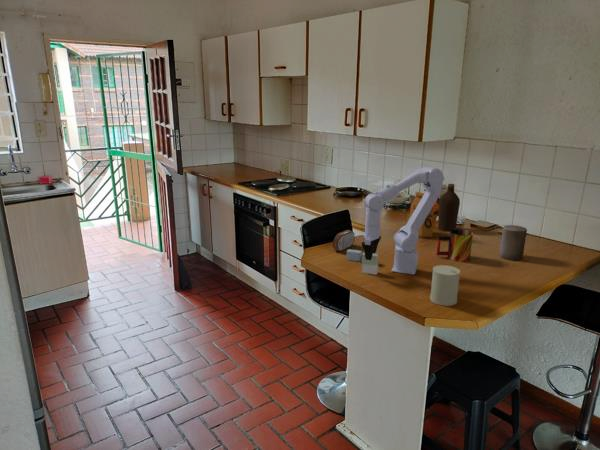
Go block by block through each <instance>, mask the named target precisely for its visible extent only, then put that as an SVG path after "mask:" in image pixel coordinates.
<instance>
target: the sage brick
mask: <svg viewBox="0 0 600 450" xmlns="http://www.w3.org/2000/svg"><path fill="white" fill-rule="evenodd" d="M362 253H363V254H362ZM362 253H361V254H362V263H361V265H362V264H368V265H375V266H376V265H377V264H378V265H379V253H373V255H372V259H371V260H366V258H365V253H364V251H363V252H362Z"/></svg>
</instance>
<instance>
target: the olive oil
mask: <svg viewBox="0 0 600 450" xmlns="http://www.w3.org/2000/svg"><path fill="white" fill-rule="evenodd" d="M460 204H461V200H460V197H459V196H458V194H457V193H456V192H455V184H454V183H448V184H447V191H446V192H444V193H443V194H442V195H441V196H440V198H439V201H438V217H437V218H438V219H437V229H438V230H440V231H442V232H450V230H453V229H457V223H458V217H459V210H460Z"/></svg>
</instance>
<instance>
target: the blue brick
mask: <svg viewBox="0 0 600 450" xmlns="http://www.w3.org/2000/svg"><path fill="white" fill-rule="evenodd" d="M362 253H363V252H362V250H358V249H349V248H347V249H346V257H345V258H346V259H345V260H346V261H353V262H361V254H362Z"/></svg>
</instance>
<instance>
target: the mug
mask: <svg viewBox="0 0 600 450" xmlns="http://www.w3.org/2000/svg"><path fill="white" fill-rule="evenodd" d="M473 238H474V232H472V231H470V230H467V229H461V228H456V229H453V230H450V231H449V235H438V237H437V247H436V256H446V258H447V259H449V260H451V261H454V262H460V263H461V262H464V263H465V262H469V261H470V259H471V253H472V245H473ZM441 241H448V247H447V251H443V250H442V251H440V250H441V243H442V242H441Z"/></svg>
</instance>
